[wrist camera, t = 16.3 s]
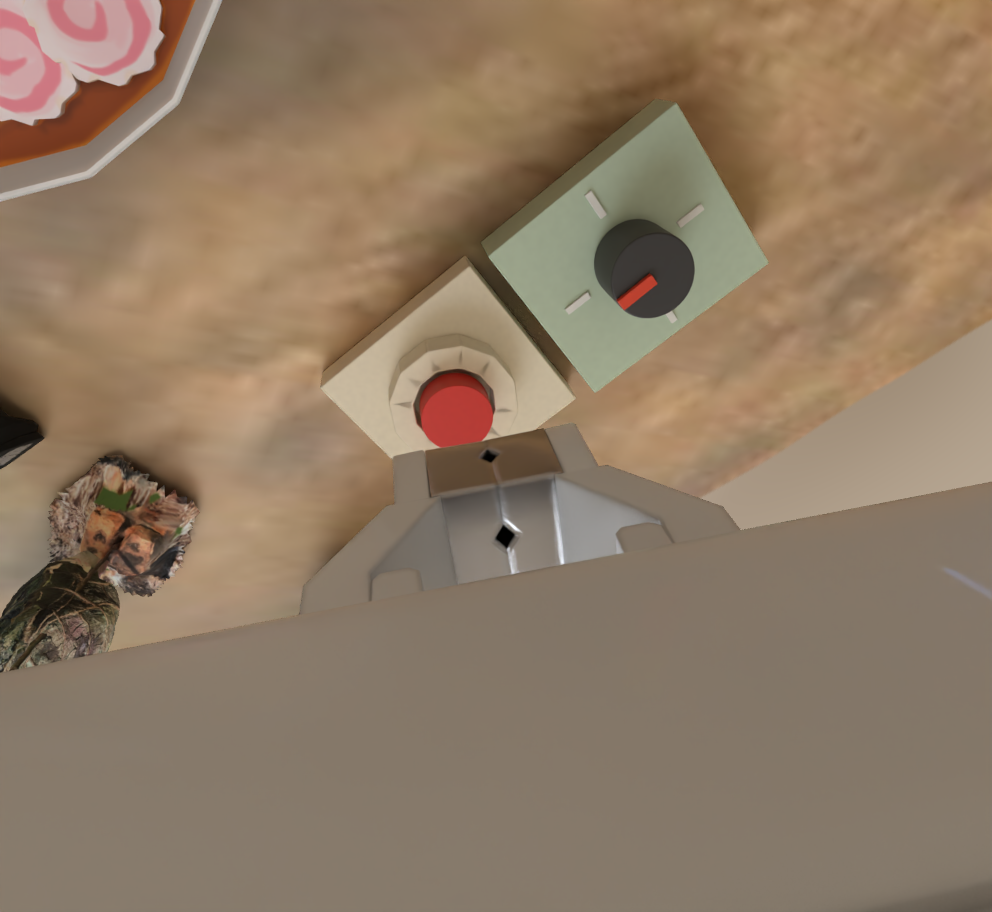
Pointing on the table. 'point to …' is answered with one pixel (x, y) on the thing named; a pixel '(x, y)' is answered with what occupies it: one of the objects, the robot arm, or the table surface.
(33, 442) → the electric trimmer
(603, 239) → the dial
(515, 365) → the switch box
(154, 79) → the ramen bowl
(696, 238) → the dial panel
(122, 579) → the grey mottled tall figure
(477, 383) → the power button
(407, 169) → the table surface
